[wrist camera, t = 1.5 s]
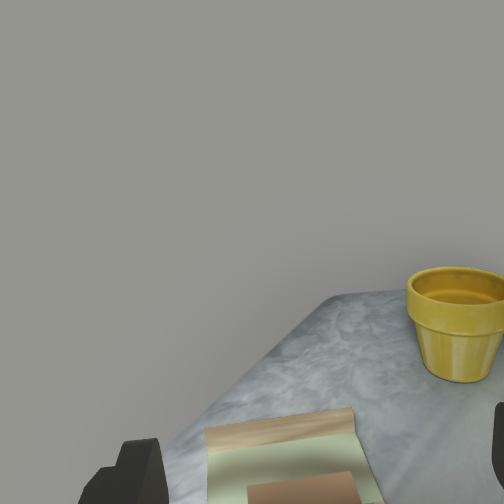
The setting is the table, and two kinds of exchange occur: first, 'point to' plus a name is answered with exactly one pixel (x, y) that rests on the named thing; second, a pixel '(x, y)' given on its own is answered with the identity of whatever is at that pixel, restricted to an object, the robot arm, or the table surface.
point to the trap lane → (285, 454)
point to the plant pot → (457, 320)
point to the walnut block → (307, 490)
